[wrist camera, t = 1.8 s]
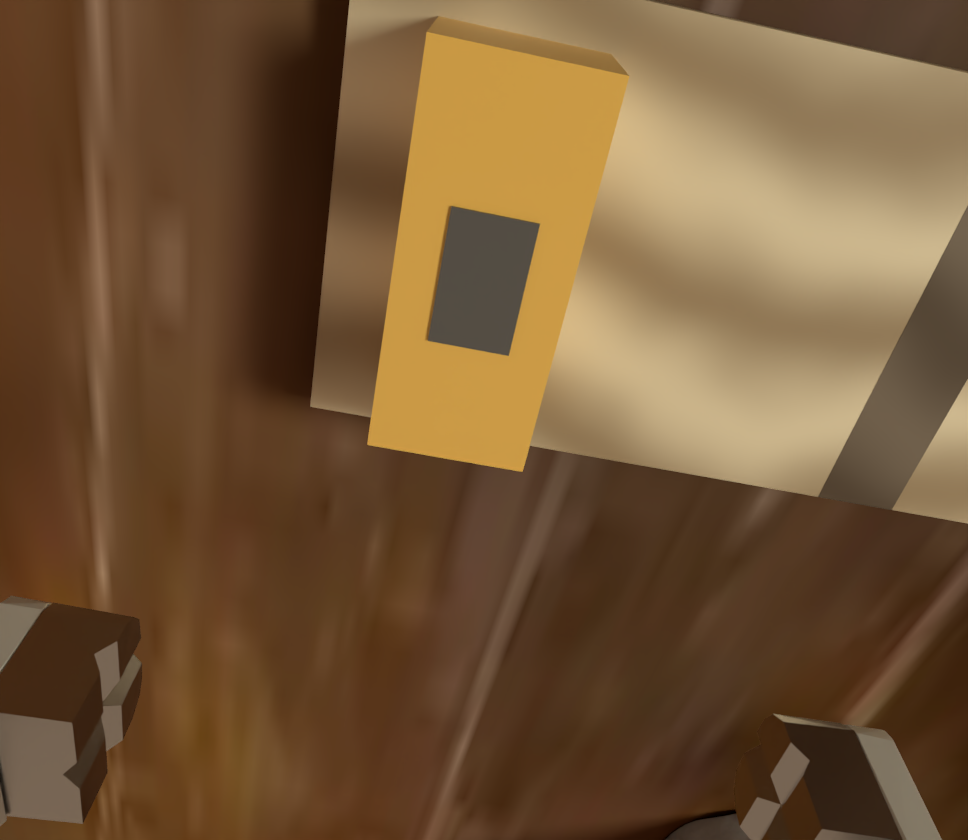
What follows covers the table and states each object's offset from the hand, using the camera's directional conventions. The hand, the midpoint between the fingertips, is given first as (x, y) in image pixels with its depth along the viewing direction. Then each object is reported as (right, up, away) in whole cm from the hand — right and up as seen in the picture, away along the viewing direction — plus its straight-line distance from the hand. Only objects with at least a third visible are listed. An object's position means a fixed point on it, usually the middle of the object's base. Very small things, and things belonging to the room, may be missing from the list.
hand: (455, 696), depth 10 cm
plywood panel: (+8, +9, +17) cm, 21 cm away
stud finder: (0, +9, +16) cm, 18 cm away
